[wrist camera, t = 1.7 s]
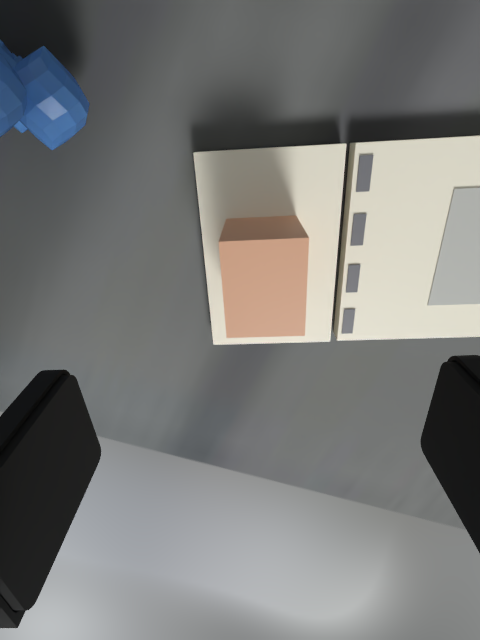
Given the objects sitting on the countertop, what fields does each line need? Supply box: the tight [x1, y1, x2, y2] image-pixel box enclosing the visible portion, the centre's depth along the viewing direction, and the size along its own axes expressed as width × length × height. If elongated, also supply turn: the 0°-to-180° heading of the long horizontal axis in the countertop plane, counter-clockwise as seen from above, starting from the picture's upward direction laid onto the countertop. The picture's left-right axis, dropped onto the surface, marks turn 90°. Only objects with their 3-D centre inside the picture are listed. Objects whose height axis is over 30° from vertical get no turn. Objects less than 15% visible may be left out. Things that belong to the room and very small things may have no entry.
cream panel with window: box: [333, 135, 480, 341], centre depth 20 cm, size 16×12×1 cm
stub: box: [193, 143, 346, 345], centre depth 19 cm, size 8×12×6 cm, turn 3°
